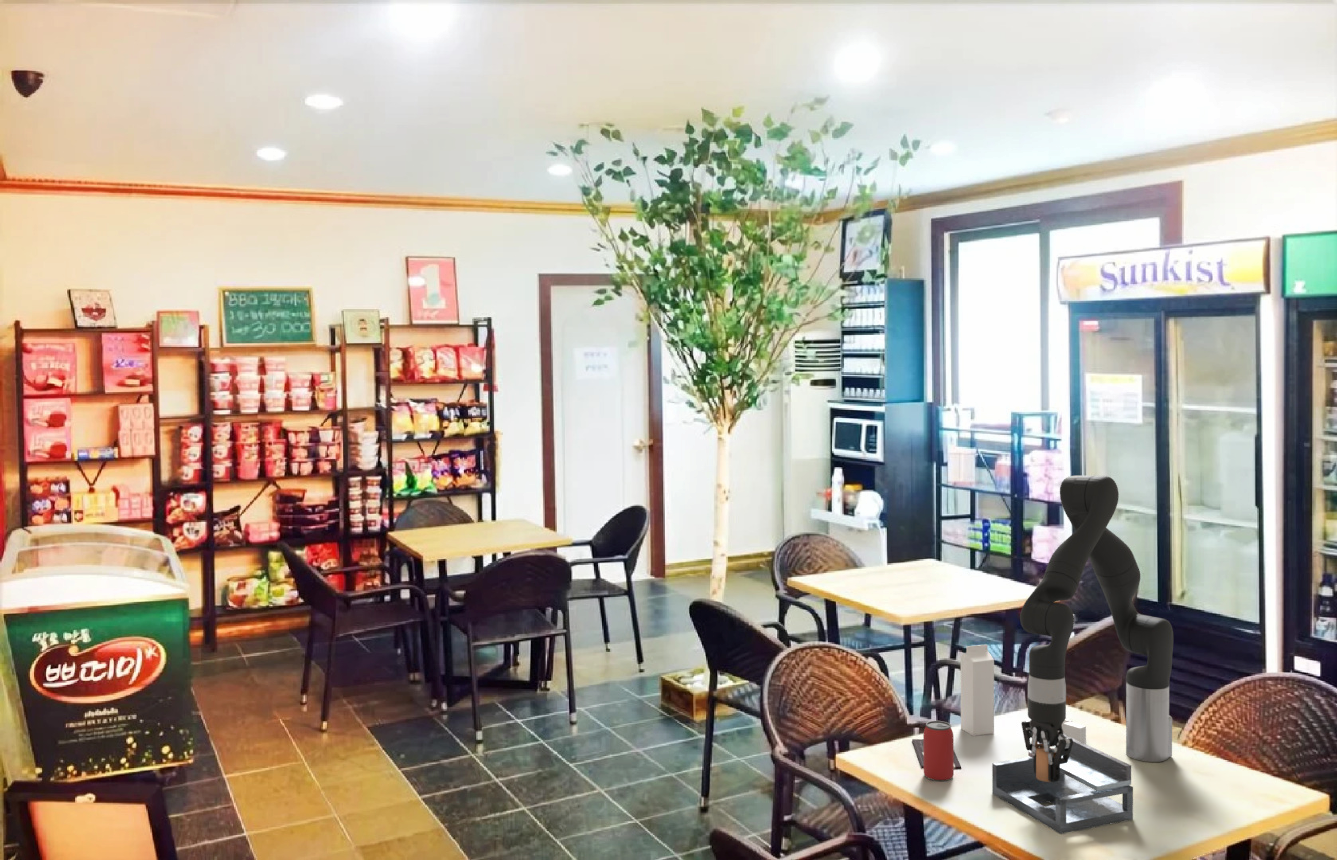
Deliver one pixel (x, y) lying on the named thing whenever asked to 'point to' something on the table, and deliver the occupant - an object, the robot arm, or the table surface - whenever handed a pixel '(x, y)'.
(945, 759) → the beer can
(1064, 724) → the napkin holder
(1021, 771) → the housing
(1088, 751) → the cover
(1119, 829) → the table surface
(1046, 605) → the robot arm
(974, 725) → the milk
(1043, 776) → the rounded orange stub
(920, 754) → the chocolate bar
